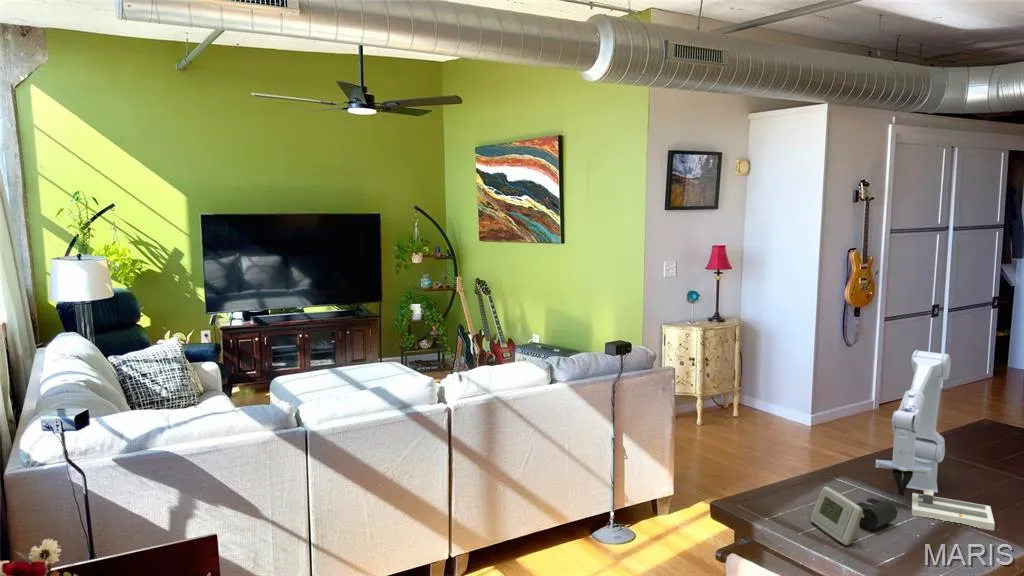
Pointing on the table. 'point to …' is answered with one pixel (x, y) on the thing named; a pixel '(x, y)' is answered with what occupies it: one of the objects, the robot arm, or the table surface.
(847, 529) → the digital clock
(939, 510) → the console
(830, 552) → the table surface
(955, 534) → the table surface
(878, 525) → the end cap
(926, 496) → the fader tab
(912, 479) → the robot arm
